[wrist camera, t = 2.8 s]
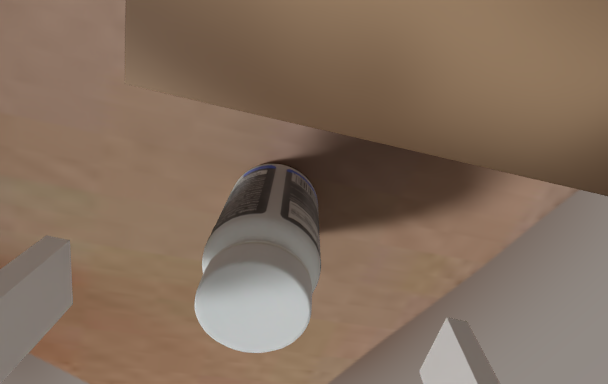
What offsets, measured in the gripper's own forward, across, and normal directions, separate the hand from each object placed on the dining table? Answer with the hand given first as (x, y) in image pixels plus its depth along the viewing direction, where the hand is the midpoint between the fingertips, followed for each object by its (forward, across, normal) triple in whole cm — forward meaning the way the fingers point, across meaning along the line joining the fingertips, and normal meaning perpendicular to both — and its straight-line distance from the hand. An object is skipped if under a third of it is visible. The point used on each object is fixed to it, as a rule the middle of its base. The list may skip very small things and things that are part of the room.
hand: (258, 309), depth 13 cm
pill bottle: (+8, 0, 0) cm, 8 cm away
